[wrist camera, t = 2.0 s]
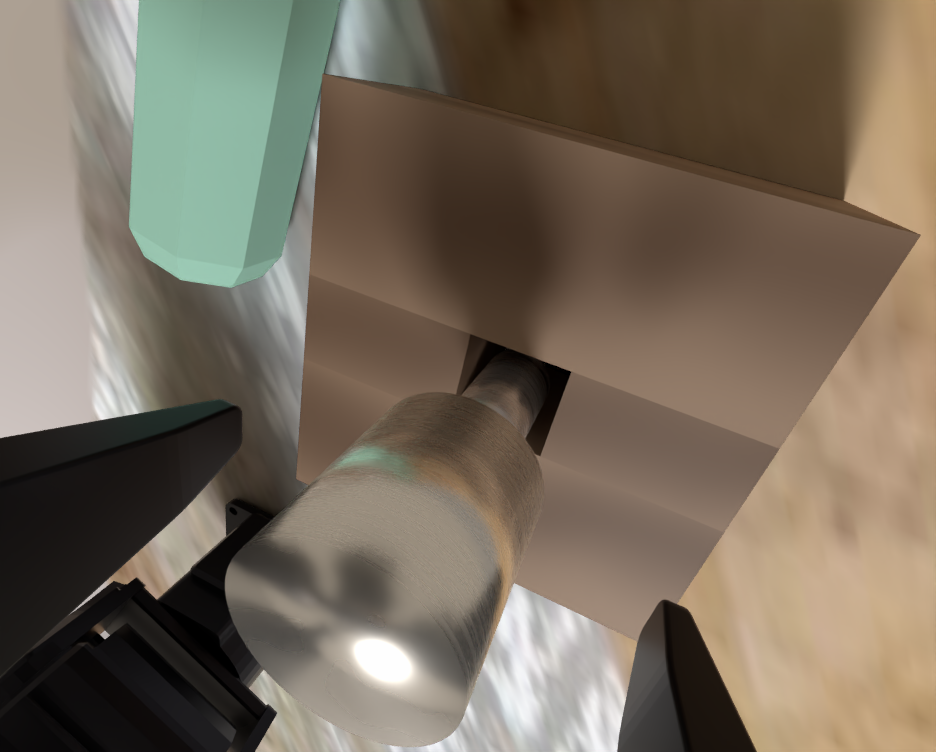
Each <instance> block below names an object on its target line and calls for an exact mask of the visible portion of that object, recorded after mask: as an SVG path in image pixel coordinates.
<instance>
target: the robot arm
mask: <svg viewBox="0 0 936 752" xmlns="http://www.w3.org/2000/svg"><path fill="white" fill-rule="evenodd" d="M241 443H242V411H241V409H240V407H239V406H237V405H235V404H233V403H230V402H228V401H226V400H223V399H218V400H212V401H206V402H201V403H195V404H189V405H184V406H178V407H173V408H167V409H161V410H156V411H150V412H144V413H139V414H133V415H128V416H122V417H116V418H111V419H105V420H99V421H94V422H89V423H83V424H77V425H71V426H66V427H60V428H55V429H49V430H43V431H38V432H33V433H27V434H21V435H15V436H9V437H4V438H0V752H255V751H256V749H257V747H258V745H259V744H260V742H261V740H262V738H263V737H264V735H265V733H266V732H267V730H268V728H269V726H270V725H271V723H272V721H273V720H274V718H275V716H276V714H277V712H276V711H275V710H274V709H273V708H272V707H271V706H270V705H269V704H268V705H265V704H264V703H263V702H262V701H261V700H260V699H259V698H258V697H257V696H256V695H255V694H254V693H253V692H252V691H251V690H250V689H249V687H250V686H251V685H252V684H253V682H254V681H255V680H256V678H257V677H258V676H259V675H260V673H261V672H262V671H263V667H262V666H261V665H260V664H259V663H258V661H257V660H256V659H255V658H254V656H253V655H252V653H251V652H250V651H249V649H248V648H247V646H246V645H245V643H244V641H243V640H242V638H241V636H240V635H239V633H238V631H237V629H236V627H235V625H234V623H233V620H232V617H231V615H230V612H229V609H228V605H227V601H226V594H225V577H226V573H227V569H228V566H229V564H230V562H231V560H232V558H233V557H234V556H235V555H236V554H237V552H238V551H239V550H240V549H241V548H242V547H243V546H245V545H246V544H247V543H248V542H249V541H250V540H251V539H252V538H253V537H254V536H255V535H256V534H257V533H258V532H259V531H260V530H262V529H263V528H264V527H265V526H266V525H267V524H268V523H269V522H270V521H271V520H272V519H273V518H274V517H272V516H270V515H268V514H266V513H264V512H262V511H260V510H258V509H256V508H254V507H252V506H250V505H248V504H246V503H244V502H242V501H240V500H238V499H233V500H232V501H230V502H229V503H228V504H227V505H226V537H225V538H224V539H223V540H222V541H220V542H219V543H218V544H217V545H216V546H215V547H214V548H212V549H211V550H210V551H209V552H208V553H207V554H206V555H205V556H203V557H202V558H201V559H200V560H199V561H198V562H197V563H195V564H194V565H193V566H192V568H191V570H190V571H189V572H188V573H187V574H185V575H184V576H183V577H182V578H181V579H180V580H179V581H177V582H176V583H175V584H174V585H173V586H172V587H171V588H170V589H168V590H167V591H166V592H165V593H164V594H163V595H162V596H161V597H159V598H158V599H157V600H156V599H155V598H154V597H153V596H152V595H151V594H150V593H149V592H148V591H147V590H146V589H145V588H144V587H145V586H146V585H145V584H144V583H142V582H141V581H140V580H139V579H138V578H135V579H134V580H132V581H131V582H130V583H128V584H127V585H126V584H125V585H124V584H121V583H118V582H115V581H113V582H112V583H111V584H109V585H108V586H107V587H106V588H104V589H103V590H102V591H101V592H99V593H98V594H97V595H95V596H94V597H93V598H92V599H90V600H89V601H88V602H86V603H85V604H84V605H82V606H81V607H80V608H78V609H77V610H76V611H74V612H73V613H71V612H72V611H73V610H75V609H76V608H77V607H78V606H79V605H80V604H81V603H82V602H83V601H84V600H85V599H87V598H88V597H89V596H90V595H91V594H92V593H93V592H94V591H95V590H97V589H98V588H99V587H100V586H101V585H102V584H103V583H104V582H105V581H107V580H108V579H109V578H110V577H111V576H112V575H113V574H114V573H115V572H116V571H118V570H119V569H120V568H121V567H122V566H123V565H124V564H125V563H126V562H127V561H129V560H130V559H131V558H132V557H133V556H134V555H135V554H136V553H137V552H138V551H140V550H141V549H142V548H143V547H144V546H145V545H146V544H147V543H148V542H149V541H151V540H152V539H153V538H154V537H155V536H156V535H157V534H158V533H159V532H160V531H162V530H163V529H164V528H165V527H166V526H167V525H168V524H169V523H170V522H171V521H173V520H174V519H175V518H176V517H177V516H178V515H179V514H180V513H181V512H182V511H183V510H184V509H185V508H186V507H187V506H188V505H189V504H190V503H191V502H192V501H193V500H194V499H195V498H196V496H197V495H198V494H199V493H200V492H201V491H202V490H203V489H204V488H205V486H206V485H207V484H208V483H209V482H210V481H211V480H212V479H213V478H214V477H215V475H216V474H217V473H218V472H219V471H220V470H221V469H222V468H223V467H224V466H225V464H226V463H227V462H228V461H229V460H230V459H231V458H232V457H233V456H234V455H235V453H236V452H237V451H238V449H239V448H240V446H241ZM70 613H71V614H70ZM69 614H70V615H69ZM104 630H105V631H106V632H107V633H108V634H110V636H109V637H108V638H106V639H104V638H103V637H102V636H101V635H100V634H101V633H102V632H103V631H104ZM617 752H757V751H756V749H755V747H754V745H753V743H752V740H751V738H750V736H749V734H748V732H747V730H746V728H745V726H744V724H743V722H742V720H741V717H740V715H739V713H738V711H737V709H736V707H735V705H734V703H733V701H732V699H731V696H730V694H729V692H728V690H727V688H726V686H725V684H724V682H723V680H722V678H721V676H720V673H719V671H718V669H717V667H716V665H715V663H714V661H713V659H712V657H711V655H710V652H709V650H708V648H707V646H706V644H705V642H704V640H703V638H702V636H701V634H700V631H699V629H698V627H697V625H696V623H695V621H694V619H693V617H692V615H691V613H690V612H689V611H688V610H687V609H686V608H684V607H682V606H680V605H678V604H676V603H673V602H671V601H669V600H665V599H664V600H661V601H660V602H659V603H658V605H657V606H656V608H655V609H654V611H653V613H652V614H651V616H650V617H649V619H648V620H647V622H646V624H645V625H644V627H643V629H642V631H641V633H640V636H639V639H638V643H637V647H636V652H635V657H634V662H633V667H632V672H631V677H630V682H629V687H628V692H627V697H626V702H625V707H624V712H623V717H622V722H621V728H620V734H619V741H618V750H617Z"/></svg>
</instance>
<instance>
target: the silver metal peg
mask: <svg viewBox="0 0 936 752" xmlns="http://www.w3.org/2000/svg"><path fill="white" fill-rule="evenodd" d="M549 391H550V377H549V374H548V371H547V369H546V367H545V366H544V365H543V363H542V362H541V361H540V360H539V359H536V358H534V357H531V356H528V355H526V354H523V353H520V352H517V351H515V350H506V351H503V352H500V353H499V354H497V355H496V356H494V357H493V358H492V359H491V361H490V362H489V363H488V364H487V365H486V367H485V368H484V369H483V370H482V371H481V372H480V374H479V375H478V376H477V377H476V378H475V380H474V381H473V382H472V383H471V384H470V385H469V387H468V388H467V389H466V390H465V391H464V393H463V394H462V395H457V394H452V393H444V392H427V393H421V394H416V395H413V396H410V397H407V398H405V399H403V400H401V401H400V402H398V403H396V404H395V405H394V406H393V407H391V408H390V409H389V410H388V411H387V412H386V413H385V414H384V415H383V416H382V417H381V418H379V419H378V420H377V421H376V422H375V423H374V424H373V425H372V426H371V427H370V428H369V429H368V430H367V431H366V432H365V433H364V434H362V435H361V436H360V437H359V438H358V439H357V440H356V441H355V442H354V443H353V444H352V445H351V446H350V447H349V448H348V449H347V450H345V451H344V452H343V453H342V454H341V455H340V456H339V457H338V458H337V459H336V460H335V461H334V462H333V463H332V464H331V465H330V466H328V467H327V468H326V469H325V470H324V471H323V472H322V473H321V474H320V475H319V476H318V477H317V478H316V479H315V480H314V481H313V482H311V483H310V484H309V485H308V486H307V487H306V488H305V489H304V490H303V491H302V492H301V493H300V494H299V495H298V496H297V497H296V498H294V499H293V500H292V501H291V502H290V503H289V504H288V505H287V506H286V507H285V508H284V509H283V510H282V511H281V512H280V513H279V514H277V515H276V516H275V517H274V518H273V519H272V520H271V521H270V522H269V523H268V524H267V525H266V526H265V527H264V528H263V529H262V530H260V531H259V532H258V533H257V534H256V535H255V536H254V537H253V538H252V539H251V540H250V541H249V542H248V543H247V544H246V545H245V546H243V547H242V548H241V549H240V550H239V551H238V552H237V554H236V555H235V556H234V557H233V558H232V560H231V562H230V564H229V566H228V569H227V573H226V577H225V594H226V601H227V605H228V609H229V612H230V615H231V617H232V620H233V623H234V625H235V627H236V629H237V631H238V633H239V635H240V636H241V638H242V640H243V641H244V643H245V645H246V646H247V648H248V649H249V651H250V652H251V653H252V655H253V656H254V658H255V659H256V660H257V661H258V663H259V664H260V665H261V666H262V667H263V669H264V670H265V671H266V672H267V673H268V674H269V675H270V676H271V677H272V678H273V679H274V680H275V681H276V682H277V683H278V684H279V685H280V686H281V687H282V688H283V689H284V690H285V691H286V692H287V693H289V694H290V695H291V696H292V697H294V698H295V699H296V700H297V701H298V702H300V703H301V704H302V705H304V706H305V707H307V708H308V709H309V710H311V711H312V712H314V713H315V714H317V715H318V716H320V717H322V718H323V719H325V720H326V721H328V722H330V723H332V724H334V725H335V726H337V727H339V728H341V729H343V730H346V731H348V732H350V733H352V734H354V735H357V736H360V737H362V738H365V739H368V740H371V741H375V742H378V743H382V744H387V745H392V746H401V747H421V746H426V745H431V744H434V743H437V742H439V741H442V740H443V739H445V738H447V737H448V736H450V735H451V734H452V733H453V732H454V731H455V730H456V729H457V727H458V726H459V724H460V722H461V720H462V718H463V716H464V713H465V711H466V708H467V705H468V703H469V700H470V697H471V695H472V692H473V690H474V687H475V684H476V682H477V679H478V676H479V674H480V671H481V668H482V666H483V663H484V661H485V658H486V655H487V653H488V650H489V647H490V645H491V642H492V639H493V637H494V634H495V632H496V629H497V626H498V624H499V621H500V618H501V616H502V613H503V610H504V608H505V605H506V603H507V600H508V597H509V595H510V592H511V589H512V587H513V584H514V581H515V579H516V576H517V574H518V571H519V568H520V566H521V563H522V560H523V558H524V555H525V552H526V550H527V547H528V545H529V542H530V539H531V537H532V534H533V531H534V529H535V526H536V523H537V521H538V518H539V516H540V513H541V510H542V506H543V501H544V480H543V475H542V471H541V468H540V465H539V462H538V460H537V458H536V456H535V454H534V452H533V450H532V448H531V447H530V445H529V444H528V442H527V441H526V439H525V438H526V436H527V435H528V433H529V431H530V429H531V427H532V425H533V423H534V421H535V419H536V417H537V415H538V413H539V411H540V410H541V408H542V406H543V404H544V402H545V400H546V398H547V396H548V394H549Z"/></svg>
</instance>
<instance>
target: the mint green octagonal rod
mask: <svg viewBox="0 0 936 752" xmlns="http://www.w3.org/2000/svg"><path fill="white" fill-rule="evenodd" d="M339 4H340V0H139V12H138V35H137V57H136V80H135V102H134V125H133V147H132V170H131V192H130V215H129V228H130V230H131V232H132V234H133V236H134V238H135V240H136V241H137V243H138V245H139V247H140V249H141V251H142V253H143V255H144V257H146V258H147V259H149V260H150V261H152V262H154V263H155V264H157V265H158V266H160V267H161V268H163V269H164V270H166V271H167V272H169V273H171V274H172V275H174V276H175V277H177V278H178V279H180V280H184V281H191V282H197V283H204V284H210V285H217V286H223V287H230V288H232V287H235V286H238V285H240V284H243V283H246V282H248V281H251V280H254V279H257V278H259V277H262V276H263V275H264V274H265V273H266V272H267V271H268V270H269V269H270V268H271V267H272V266H273V264H274V263H275V262H276V261H277V260H278V259H279V258H280V257H281V255H282V251H283V247H284V242H285V238H286V234H287V229H288V225H289V221H290V216H291V212H292V208H293V203H294V199H295V195H296V190H297V186H298V182H299V177H300V173H301V169H302V164H303V160H304V156H305V151H306V147H307V143H308V138H309V134H310V130H311V126H312V121H313V117H314V113H315V108H316V104H317V100H318V95H319V91H320V87H321V82H322V74H324V69H325V65H326V61H327V56H328V52H329V48H330V43H331V39H332V35H333V30H334V26H335V22H336V17H337V13H338V9H339Z"/></svg>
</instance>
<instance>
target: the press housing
mask: <svg viewBox="0 0 936 752" xmlns="http://www.w3.org/2000/svg"><path fill="white" fill-rule="evenodd" d="M920 236H921V235H919V234H917V233H915V232H913V231H911V230H908V229H906V228H904V227H902V226H899V225H897V224H895V223H893V222H890V221H888V220H886V219H884V218H881V217H879V216H877V215H875V214H872V213H870V212H868V211H866V210H863V209H861V208H859V207H857V206H854V205H852V204H850V203H848V202H845V201H842V200H839V199H835V198H831V197H827V196H823V195H820V194H816V193H812V192H808V191H805V190H801V189H797V188H793V187H789V186H786V185H782V184H778V183H774V182H771V181H767V180H763V179H759V178H755V177H752V176H748V175H744V174H740V173H737V172H733V171H729V170H725V169H721V168H718V167H714V166H710V165H706V164H703V163H699V162H695V161H691V160H687V159H684V158H680V157H676V156H672V155H668V154H665V153H661V152H657V151H653V150H650V149H646V148H642V147H638V146H634V145H631V144H627V143H623V142H619V141H616V140H612V139H608V138H604V137H600V136H597V135H593V134H589V133H585V132H582V131H578V130H574V129H570V128H566V127H563V126H559V125H555V124H551V123H548V122H544V121H540V120H536V119H532V118H529V117H525V116H521V115H517V114H514V113H510V112H506V111H502V110H498V109H495V108H491V107H487V106H483V105H480V104H476V103H472V102H468V101H464V100H461V99H457V98H453V97H449V96H446V95H442V94H438V93H434V92H430V91H427V90H423V89H418V88H411V87H405V86H399V85H392V84H386V83H379V82H373V81H367V80H360V79H354V78H347V77H341V76H335V75H328V74H322V88H321V104H320V119H319V134H318V150H317V165H316V181H315V196H314V211H313V227H312V242H311V258H310V273H309V288H308V304H307V319H306V335H305V350H304V365H303V381H302V396H301V412H300V427H299V442H298V458H297V473H296V479H297V480H299V481H301V482H303V483H305V484H307V485H309V484H310V483H311V482H313V481H314V480H315V479H316V478H317V477H318V476H319V475H320V474H321V473H322V472H323V471H324V470H325V469H326V468H327V467H328V466H330V465H331V464H332V463H333V462H334V461H335V460H336V459H337V458H338V457H339V456H340V455H341V454H342V453H343V452H344V451H345V450H347V449H348V448H349V447H350V446H351V445H352V444H353V443H354V442H355V441H356V440H357V439H358V438H359V437H360V436H361V435H362V434H364V433H365V432H366V431H367V430H368V429H369V428H370V427H371V426H372V425H373V424H374V423H375V422H376V421H377V420H378V419H379V418H381V417H382V416H383V415H384V414H385V413H386V412H387V411H388V410H389V409H390V408H391V407H393V406H394V405H395V404H396V403H398V402H400V401H401V400H403V399H405V398H407V397H410V396H413V395H416V394H421V393H427V392H444V393H452V394H457V395H462V394H463V393H464V391H465V390H466V389H467V388H468V387H469V385H470V384H471V383H472V382H473V381H474V380H475V378H476V377H477V376H478V375H479V374H480V372H481V371H482V370H483V369H484V368H485V367H486V365H487V364H488V363H489V362H490V361H491V359H492V358H493V357H494V356H496V355H497V354H499V353H500V352H503V351H505V349H506V347H507V348H509V349H512V350H515V351H517V352H520V353H523V354H526V355H528V356H531V357H534V358H536V359H539V360H542V361H544V362H547V363H550V364H552V365H555V366H558V367H561V368H563V369H566V370H569V371H571V374H570V376H568V375H565V374H562V373H560V372H557V371H554V370H552V369H549V368H546V369H547V371H548V374H549V377H550V391H549V394H548V396H547V398H546V400H545V402H544V404H543V406H542V408H541V410H540V411H539V413H538V415H537V417H536V419H535V421H534V423H533V425H532V427H531V429H530V431H529V433H528V435H527V436H526V438H525V439H526V441H527V442H528V444H529V445H530V447H531V448H532V450H533V452H534V454H535V456H536V458H537V460H538V462H539V465H540V468H541V471H542V475H543V480H544V501H543V506H542V510H541V513H540V516H539V518H538V521H537V523H536V526H535V529H534V531H533V534H532V537H531V539H530V542H529V545H528V547H527V550H526V552H525V555H524V558H523V560H522V563H521V566H520V568H519V571H518V574H517V576H516V579H515V581H514V583H516V584H518V585H520V586H522V587H524V588H526V589H528V590H530V591H532V592H534V593H537V594H539V595H541V596H543V597H545V598H547V599H549V600H551V601H553V602H555V603H558V604H560V605H562V606H564V607H566V608H568V609H570V610H572V611H574V612H576V613H579V614H581V615H583V616H585V617H587V618H589V619H591V620H593V621H595V622H597V623H600V624H602V625H604V626H606V627H608V628H610V629H612V630H614V631H616V632H618V633H621V634H623V635H625V636H627V637H629V638H631V639H633V640H635V641H637V642H638V639H639V636H640V633H641V631H642V629H643V627H644V625H645V624H646V622H647V620H648V619H649V617H650V616H651V614H652V613H653V611H654V609H655V608H656V606H657V605H658V603H659V602H660V601H661V600H664V599H665V600H669V601H671V602H673V603H676V604H677V603H678V602H679V600H680V599H681V597H682V596H683V594H684V592H685V591H686V589H687V588H688V586H689V585H690V583H691V582H692V580H693V579H694V577H695V576H696V574H697V573H698V571H699V570H700V568H701V567H702V565H703V564H704V562H705V561H706V559H707V558H708V556H709V555H710V553H711V552H712V550H713V549H714V547H715V546H716V544H717V543H718V541H719V540H720V538H721V537H722V535H723V534H724V532H725V530H726V529H727V527H728V526H729V524H730V523H731V521H732V520H733V518H734V517H735V515H736V514H737V512H738V511H739V509H740V508H741V506H742V505H743V503H744V502H745V500H746V499H747V497H748V496H749V494H750V493H751V491H752V490H753V488H754V487H755V485H756V484H757V482H758V481H759V479H760V478H761V476H762V475H763V473H764V472H765V470H766V468H767V467H768V465H769V464H770V462H771V461H772V459H773V458H774V456H775V455H776V453H777V452H778V450H779V449H780V447H781V446H782V444H783V443H784V441H785V440H786V438H787V437H788V435H789V434H790V432H791V431H792V429H793V428H794V426H795V425H796V423H797V422H798V420H799V419H800V417H801V416H802V414H803V413H804V411H805V410H806V408H807V406H808V405H809V403H810V402H811V400H812V399H813V397H814V396H815V394H816V393H817V391H818V390H819V388H820V387H821V385H822V384H823V382H824V381H825V379H826V378H827V376H828V375H829V373H830V372H831V370H832V369H833V367H834V366H835V364H836V363H837V361H838V360H839V358H840V357H841V355H842V354H843V352H844V351H845V349H846V348H847V346H848V344H849V343H850V341H851V340H852V338H853V337H854V335H855V334H856V332H857V331H858V329H859V328H860V326H861V325H862V323H863V322H864V320H865V319H866V317H867V316H868V314H869V313H870V311H871V310H872V308H873V307H874V305H875V304H876V302H877V301H878V299H879V298H880V296H881V295H882V293H883V292H884V290H885V289H886V287H887V286H888V284H889V282H890V281H891V279H892V278H893V276H894V275H895V273H896V272H897V270H898V269H899V267H900V266H901V264H902V263H903V261H904V260H905V258H906V257H907V255H908V254H909V252H910V251H911V249H912V248H913V246H914V245H915V243H916V242H917V240H918V239H919V237H920Z"/></svg>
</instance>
